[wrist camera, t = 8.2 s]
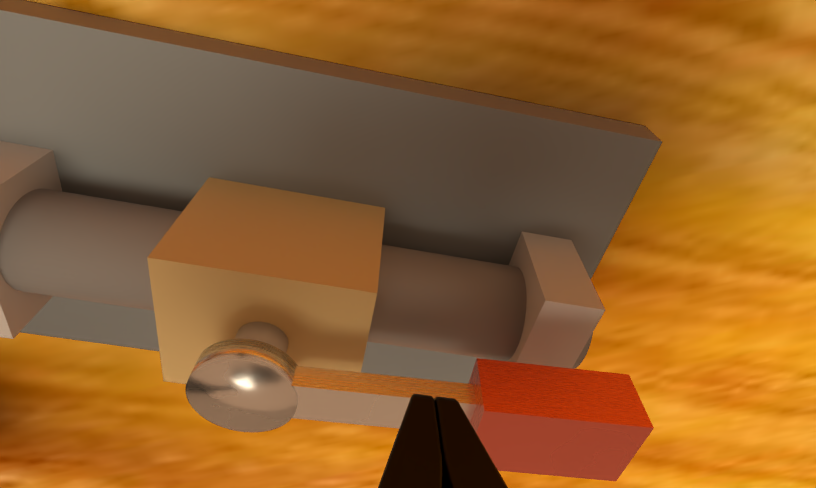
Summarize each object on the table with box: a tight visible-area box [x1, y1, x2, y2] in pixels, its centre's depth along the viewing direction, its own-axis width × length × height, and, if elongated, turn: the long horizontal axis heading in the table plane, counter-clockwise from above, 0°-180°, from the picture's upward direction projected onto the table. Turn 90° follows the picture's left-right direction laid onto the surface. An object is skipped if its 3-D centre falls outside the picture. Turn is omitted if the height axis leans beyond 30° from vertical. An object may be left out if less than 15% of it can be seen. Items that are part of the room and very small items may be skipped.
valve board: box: [0, 0, 662, 384], centre depth 17 cm, size 14×24×8 cm, turn 79°
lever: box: [186, 339, 653, 481], centre depth 14 cm, size 12×3×2 cm, turn 82°
